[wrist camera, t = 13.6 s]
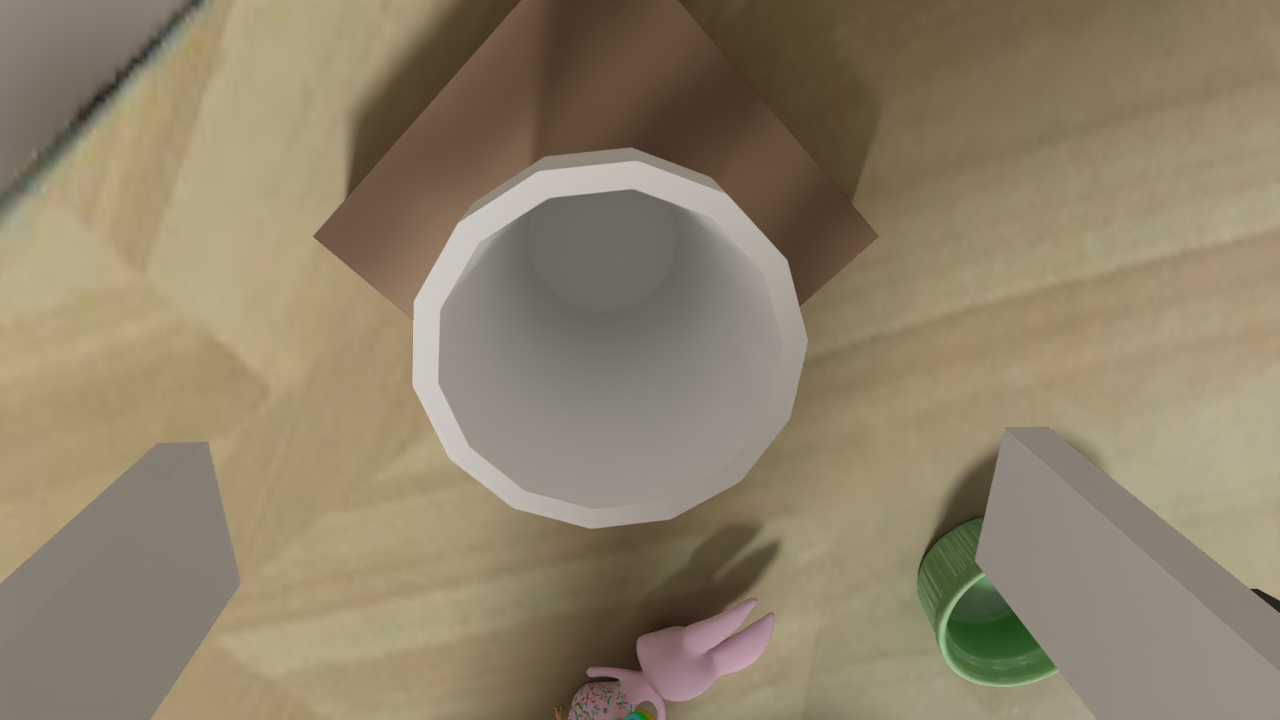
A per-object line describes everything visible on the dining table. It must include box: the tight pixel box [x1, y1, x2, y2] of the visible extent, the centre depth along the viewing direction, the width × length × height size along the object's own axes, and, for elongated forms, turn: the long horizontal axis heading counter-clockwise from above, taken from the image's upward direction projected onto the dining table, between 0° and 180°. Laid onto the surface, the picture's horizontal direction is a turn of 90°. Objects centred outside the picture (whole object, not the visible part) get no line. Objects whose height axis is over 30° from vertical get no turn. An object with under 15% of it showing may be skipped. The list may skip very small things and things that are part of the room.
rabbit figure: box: [554, 598, 775, 720], centre depth 41 cm, size 6×6×15 cm
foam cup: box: [413, 147, 808, 529], centre depth 24 cm, size 10×9×13 cm
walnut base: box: [313, 0, 879, 320], centre depth 31 cm, size 16×16×4 cm
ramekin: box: [918, 517, 1059, 687], centre depth 41 cm, size 9×9×4 cm
